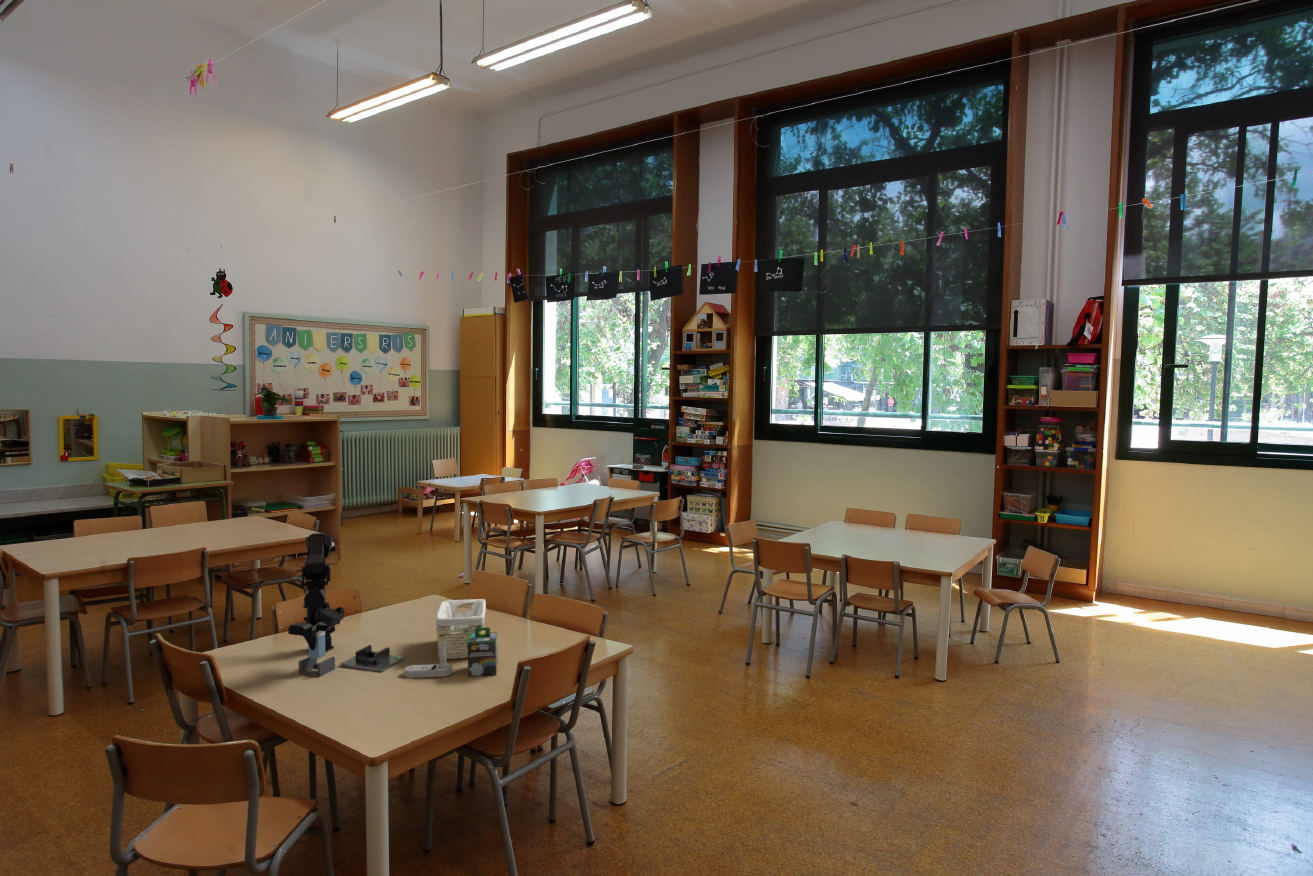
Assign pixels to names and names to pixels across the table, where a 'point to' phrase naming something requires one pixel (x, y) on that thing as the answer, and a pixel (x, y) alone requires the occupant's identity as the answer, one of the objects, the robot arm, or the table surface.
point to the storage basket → (458, 625)
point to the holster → (316, 666)
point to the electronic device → (430, 668)
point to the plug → (318, 646)
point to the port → (372, 659)
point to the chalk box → (482, 653)
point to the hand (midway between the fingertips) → (316, 648)
